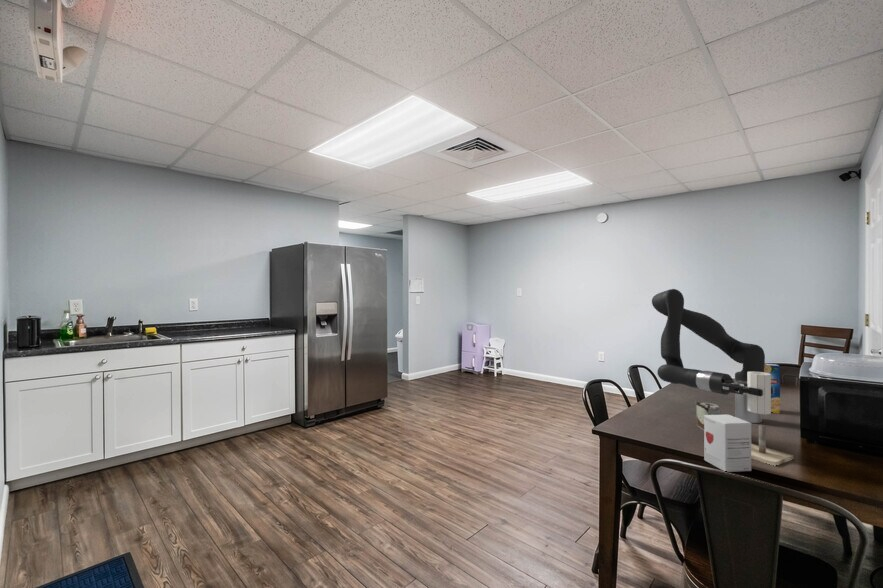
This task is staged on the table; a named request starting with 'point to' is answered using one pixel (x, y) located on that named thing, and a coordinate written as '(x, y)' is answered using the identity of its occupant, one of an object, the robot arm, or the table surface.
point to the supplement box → (727, 442)
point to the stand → (767, 451)
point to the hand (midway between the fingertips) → (767, 391)
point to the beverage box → (774, 385)
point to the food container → (705, 411)
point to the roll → (759, 402)
